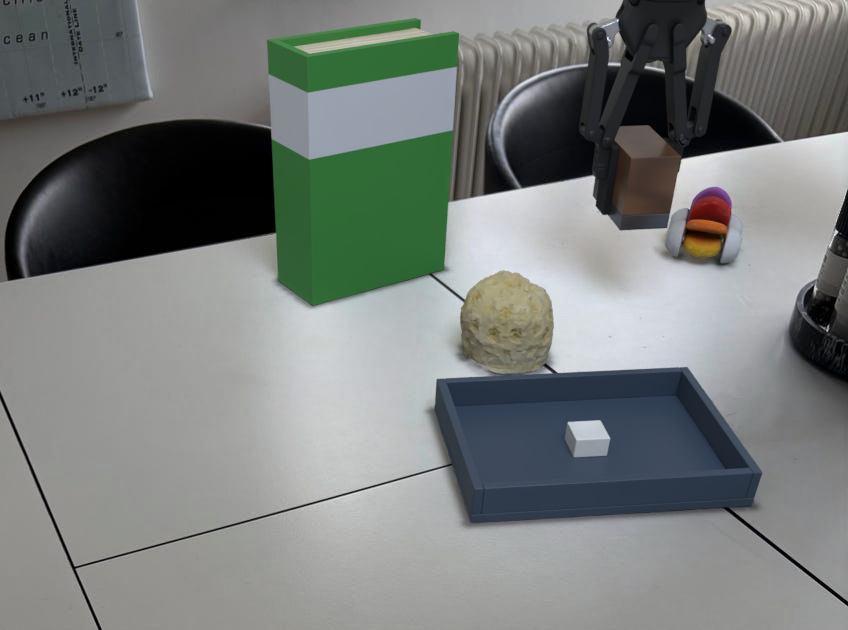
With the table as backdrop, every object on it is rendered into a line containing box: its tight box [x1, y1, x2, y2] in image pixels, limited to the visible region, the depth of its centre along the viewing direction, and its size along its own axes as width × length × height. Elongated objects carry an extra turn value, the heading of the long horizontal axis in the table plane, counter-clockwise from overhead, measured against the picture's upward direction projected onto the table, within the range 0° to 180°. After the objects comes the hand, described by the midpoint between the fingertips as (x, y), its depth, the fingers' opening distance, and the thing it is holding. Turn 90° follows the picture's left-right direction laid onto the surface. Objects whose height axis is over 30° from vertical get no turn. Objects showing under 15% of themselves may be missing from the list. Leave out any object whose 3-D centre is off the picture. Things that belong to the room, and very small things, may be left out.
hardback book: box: [266, 17, 460, 307], centre depth 110 cm, size 18×7×24 cm, turn 124°
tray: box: [434, 366, 763, 524], centre depth 90 cm, size 24×18×3 cm
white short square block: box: [565, 420, 610, 458], centre depth 90 cm, size 3×3×2 cm
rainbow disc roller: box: [664, 186, 744, 264], centre depth 122 cm, size 8×10×7 cm
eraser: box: [592, 124, 681, 231], centre depth 107 cm, size 5×10×7 cm, turn 7°
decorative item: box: [459, 269, 555, 375], centre depth 102 cm, size 10×10×10 cm
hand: (629, 208), depth 109 cm, fingers closed on eraser, 5 cm apart
